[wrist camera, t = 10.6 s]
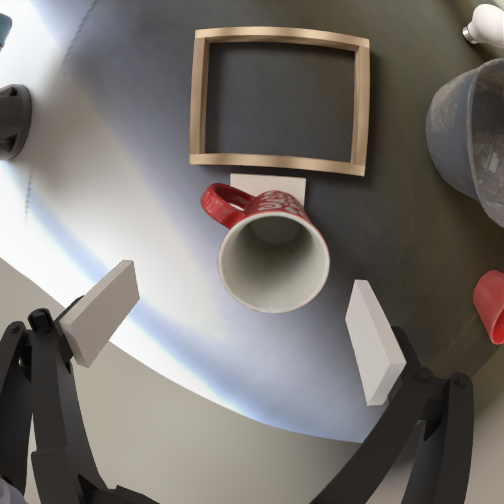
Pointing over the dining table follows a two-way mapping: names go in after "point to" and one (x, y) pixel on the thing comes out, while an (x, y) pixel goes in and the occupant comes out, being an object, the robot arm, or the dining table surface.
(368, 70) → the holder frame
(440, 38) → the dining table surface
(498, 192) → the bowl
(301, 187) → the tile
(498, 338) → the flower pot
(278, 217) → the mug
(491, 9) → the light bulb
